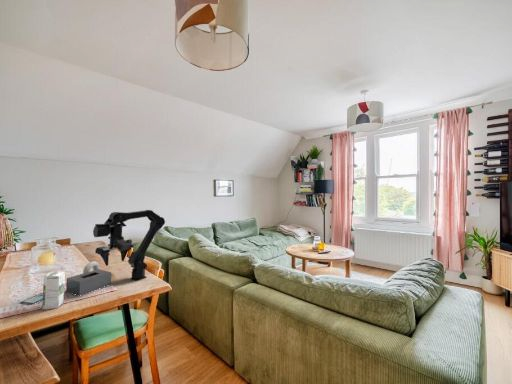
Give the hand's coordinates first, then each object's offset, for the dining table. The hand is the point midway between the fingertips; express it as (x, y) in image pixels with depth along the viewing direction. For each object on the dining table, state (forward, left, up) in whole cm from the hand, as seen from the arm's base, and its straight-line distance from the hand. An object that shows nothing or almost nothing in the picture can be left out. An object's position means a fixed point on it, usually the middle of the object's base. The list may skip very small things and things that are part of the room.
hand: (115, 263), depth 131 cm
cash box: (+9, -7, -12) cm, 17 cm away
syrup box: (+28, -1, -12) cm, 31 cm away
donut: (0, -20, -12) cm, 23 cm away
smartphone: (+25, -16, -13) cm, 32 cm away
